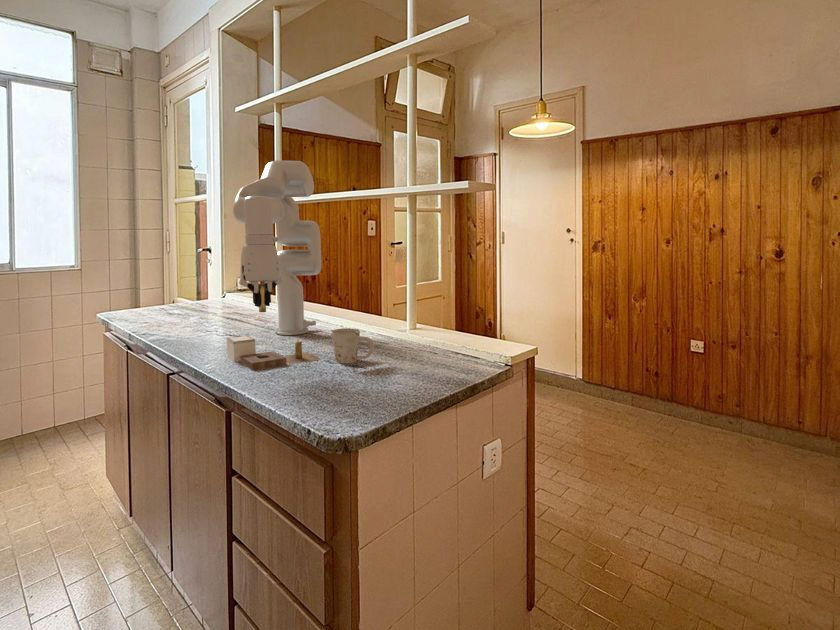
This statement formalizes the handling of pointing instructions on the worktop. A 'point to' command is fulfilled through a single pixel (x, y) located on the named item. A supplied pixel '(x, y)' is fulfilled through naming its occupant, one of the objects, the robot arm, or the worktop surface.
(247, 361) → the socket tile
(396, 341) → the worktop surface
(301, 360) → the tile
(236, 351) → the block
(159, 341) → the worktop surface
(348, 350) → the mug
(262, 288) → the brass pin
